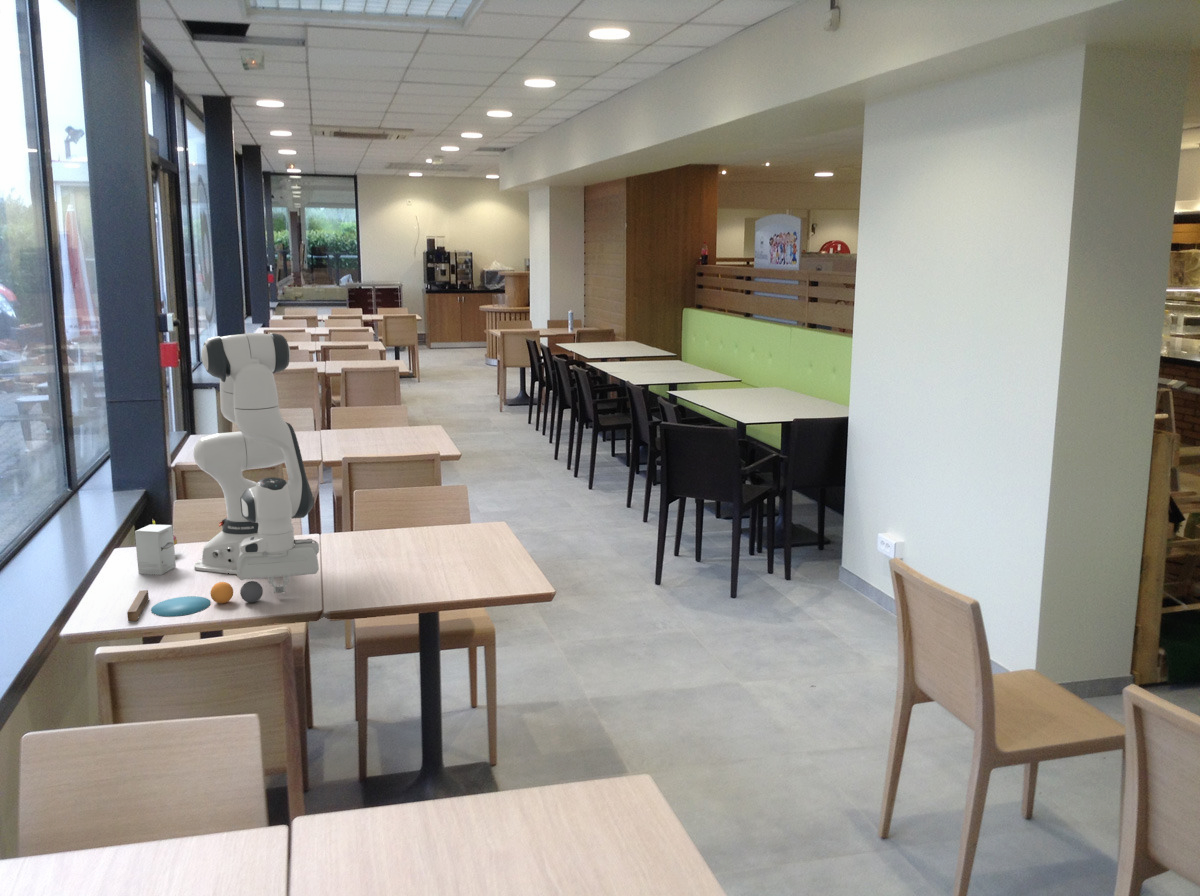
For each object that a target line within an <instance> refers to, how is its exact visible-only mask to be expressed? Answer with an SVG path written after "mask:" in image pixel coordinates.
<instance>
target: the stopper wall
mask: <svg viewBox="0 0 1200 896" xmlns="http://www.w3.org/2000/svg"><path fill="white" fill-rule="evenodd" d="M148 599H150V598H149V590H148V589H146V590H145V589H144V590H143V589H142V590H139V591H138V592H137V595H136V596H135V598H134V599H133V601H132V603H131V605H130V606H129V608H128V610H127V611H126V613H127V622H128V621H131V622H138V620H139V618H140V616H141V615H142V613H143V611H144V609H145V607H146V606H147V603H148V602H147V601H149V600H148ZM143 608H144V609H143ZM142 610H143V611H142ZM141 612H142V613H141ZM140 614H141V615H140ZM138 617H139V618H138Z"/></svg>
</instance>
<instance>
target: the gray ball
mask: <svg viewBox="0 0 1200 896" xmlns="http://www.w3.org/2000/svg"><path fill="white" fill-rule="evenodd" d="M239 593H240V597H241V598H242V600H243V601H245V602H246V603H249V604H252V603H255V602H259V601H260V599H261V598H262V597H263V594H264V589H263V587H262V585H261V584H260V583H259V582H258V581H256V580H255V581H254V580H250V581H246V582H245V583H244V584H242V585H241V587H240V591H239Z"/></svg>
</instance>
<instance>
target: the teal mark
mask: <svg viewBox="0 0 1200 896" xmlns="http://www.w3.org/2000/svg"><path fill="white" fill-rule="evenodd" d="M210 603H211V600H210V599H209V598H207V597H204V596H196V595H195V596H193V595H191V596H188V595H186V596H177V597H173V598H169V599H165V600H162V601H160V602H157V603H156V604H154V605H153V606H152V607H151V609H150V611H152V612H151V614H153V613H154V614H153V615H155V614H156V615H155V616H158V617H182V616H187V615H192V614H196V613H198V611H199V612H202V611H204V610H205V608H206V609H208V608H209V607H210V606H211V604H210ZM208 606H209V607H208ZM203 609H204V610H203ZM201 610H202V611H201Z"/></svg>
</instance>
